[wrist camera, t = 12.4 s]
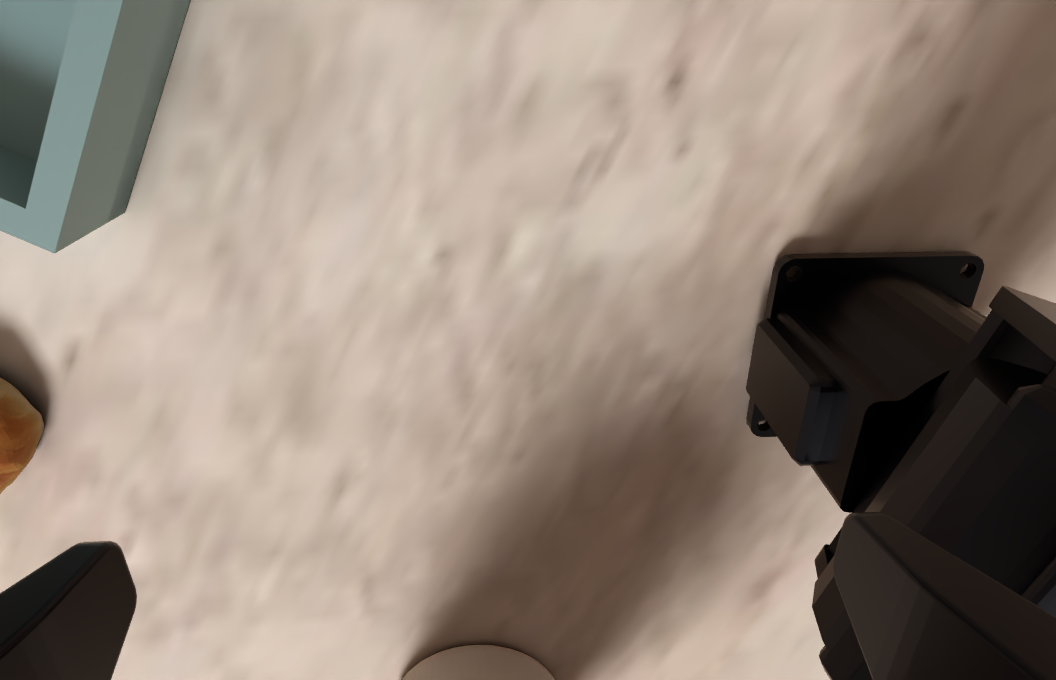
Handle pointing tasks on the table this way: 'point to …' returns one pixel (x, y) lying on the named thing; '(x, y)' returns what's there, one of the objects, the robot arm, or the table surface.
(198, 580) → the table surface
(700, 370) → the table surface
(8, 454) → the pastry
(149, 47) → the tray
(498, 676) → the coffee cup
